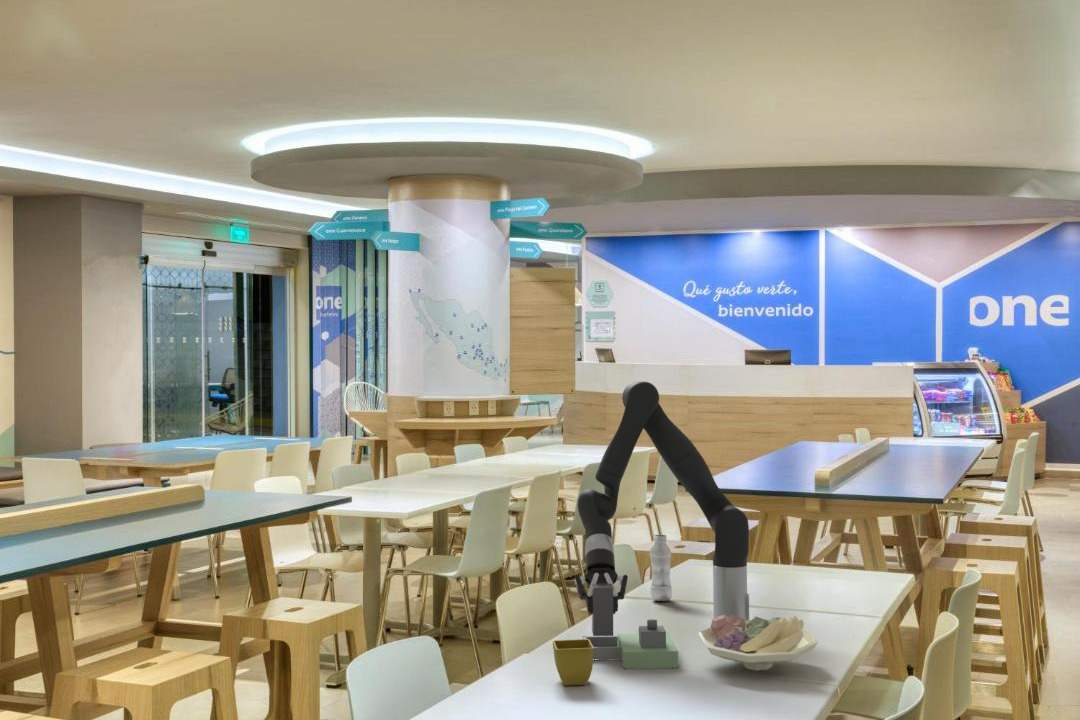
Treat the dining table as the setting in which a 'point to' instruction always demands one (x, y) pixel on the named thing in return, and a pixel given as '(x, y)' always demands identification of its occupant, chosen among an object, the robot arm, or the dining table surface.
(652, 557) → the plastic bottle
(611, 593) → the tall grey cuboid
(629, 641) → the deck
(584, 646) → the flower pot
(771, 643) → the dish with food
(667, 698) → the dining table surface
